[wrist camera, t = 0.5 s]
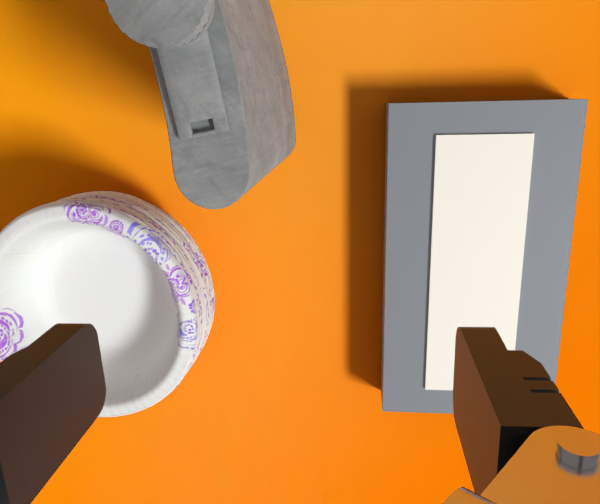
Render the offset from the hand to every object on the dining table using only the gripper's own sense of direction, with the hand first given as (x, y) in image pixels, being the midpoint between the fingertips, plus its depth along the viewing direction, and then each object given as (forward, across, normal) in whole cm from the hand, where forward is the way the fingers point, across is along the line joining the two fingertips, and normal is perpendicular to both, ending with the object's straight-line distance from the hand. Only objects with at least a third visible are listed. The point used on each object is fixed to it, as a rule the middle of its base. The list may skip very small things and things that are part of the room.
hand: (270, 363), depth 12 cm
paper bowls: (+28, +16, +8) cm, 34 cm away
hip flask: (+29, +5, -8) cm, 31 cm away
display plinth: (+28, -10, +7) cm, 31 cm away
